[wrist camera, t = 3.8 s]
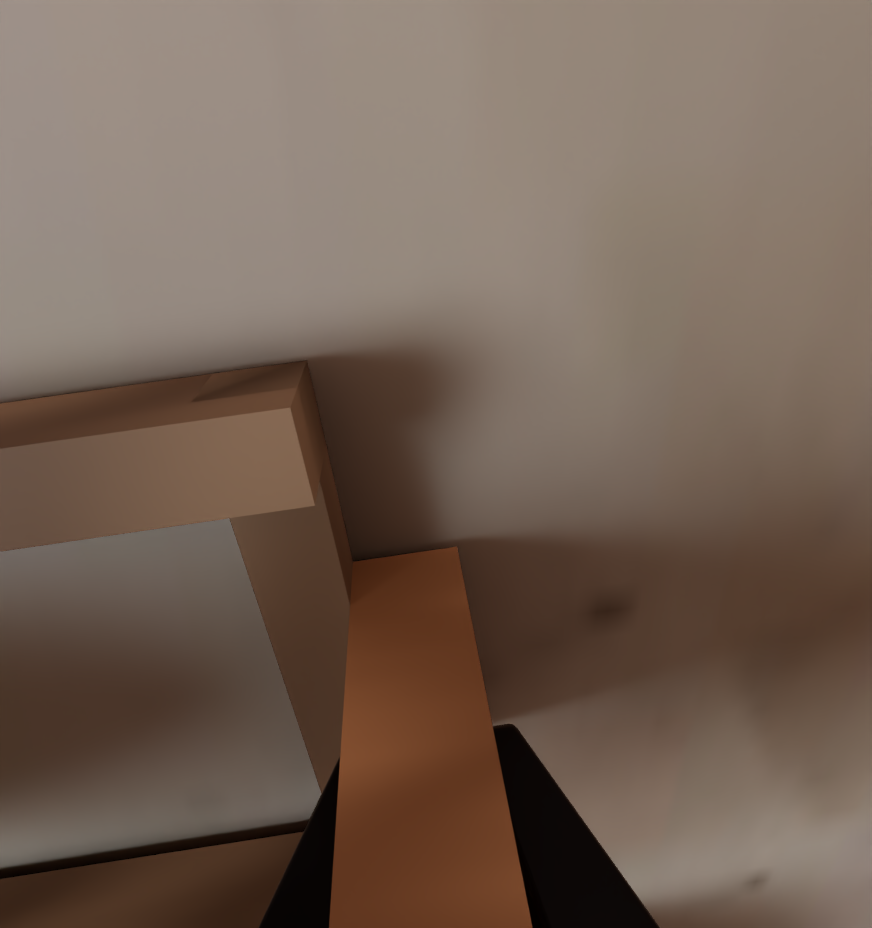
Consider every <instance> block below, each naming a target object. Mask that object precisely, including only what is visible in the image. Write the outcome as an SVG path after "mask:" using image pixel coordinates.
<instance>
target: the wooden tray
mask: <svg viewBox="0 0 872 928" xmlns="http://www.w3.org/2000/svg"><path fill="white" fill-rule="evenodd" d="M227 518H229V519H230V522H231V525H232V528H233V531H234V534H235V537H236V539H237V542H238V545H239V548H240V551H241V554H242V557H243V560H244V563H245V566H246V569H247V572H248V575H249V578H250V581H251V584H252V587H253V590H254V593H255V596H256V599H257V602H258V605H259V608H260V611H261V614H262V617H263V620H264V623H265V626H266V629H267V632H268V635H269V638H270V641H271V644H272V647H273V650H274V653H275V656H276V659H277V662H278V665H279V668H280V671H281V674H282V677H283V680H284V683H285V686H286V689H287V692H288V695H289V698H290V701H291V703H292V706H293V709H294V712H295V715H296V718H297V721H298V724H299V727H300V730H301V733H302V736H303V739H304V742H305V745H306V748H307V751H308V754H309V757H310V760H311V763H312V766H313V769H314V772H315V775H316V778H317V781H318V784H319V787H320V790H321V793H322V792H323V790H324V788H325V786H326V784H327V782H328V780H329V777H330V775H331V773H332V771H333V769H334V767H335V765H336V763H337V761H338V758H339V757H340V768H339V783H338V799H337V814H336V829H335V844H334V860H333V875H332V890H331V905H330V921H329V928H532V923H531V918H530V913H529V908H528V903H527V898H526V892H525V887H524V882H523V877H522V872H521V867H520V862H519V857H518V852H517V847H516V842H515V837H514V832H513V827H512V822H511V817H510V812H509V807H508V802H507V797H506V792H505V786H504V781H503V776H502V771H501V766H500V761H499V756H498V751H497V746H496V741H495V736H494V731H493V726H492V721H491V716H490V711H489V706H488V701H487V696H486V691H485V685H484V680H483V675H482V670H481V665H480V660H479V655H478V650H477V645H476V640H475V635H474V630H473V625H472V620H471V615H470V610H469V605H468V600H467V595H466V590H465V585H464V579H463V574H462V569H461V564H460V559H459V554H458V549H457V547H450V548H444V549H437V550H430V551H423V552H417V553H410V554H403V555H396V556H389V557H383V558H376V559H369V560H362V561H356V562H353V560H352V555H351V551H350V547H349V542H348V538H347V533H346V529H345V525H344V520H343V516H342V512H341V507H340V503H339V498H338V494H337V490H336V485H335V481H334V477H333V472H332V468H331V463H330V459H329V455H328V450H327V446H326V442H325V437H324V433H323V428H322V424H321V420H320V415H319V411H318V406H317V402H316V398H315V393H314V389H313V385H312V380H311V376H310V371H309V367H308V363H307V360H306V361H299V362H292V363H285V364H278V365H271V366H263V367H256V368H249V369H242V370H235V371H228V372H221V373H214V374H207V375H199V376H192V377H185V378H178V379H171V380H164V381H157V382H150V383H143V384H136V385H128V386H121V387H114V388H107V389H100V390H93V391H86V392H79V393H72V394H64V395H57V396H50V397H43V398H36V399H29V400H22V401H15V402H8V403H1V404H0V551H7V550H14V549H21V548H28V547H35V546H41V545H48V544H55V543H62V542H69V541H76V540H83V539H90V538H96V537H103V536H110V535H117V534H124V533H131V532H138V531H144V530H151V529H158V528H165V527H172V526H179V525H186V524H193V523H199V522H206V521H213V520H220V519H227ZM302 834H303V832H299V833H292V834H286V835H279V836H273V837H267V838H260V839H254V840H247V841H241V842H235V843H228V844H222V845H215V846H209V847H203V848H196V849H190V850H183V851H177V852H171V853H164V854H158V855H151V856H145V857H139V858H132V859H126V860H119V861H113V862H107V863H100V864H94V865H88V866H81V867H75V868H68V869H62V870H56V871H49V872H43V873H36V874H30V875H24V876H17V877H11V878H4V879H0V928H258V927H259V925H260V923H261V921H262V918H263V916H264V914H265V912H266V910H267V908H268V906H269V904H270V902H271V899H272V897H273V895H274V893H275V891H276V889H277V887H278V885H279V883H280V881H281V878H282V876H283V874H284V872H285V870H286V868H287V866H288V864H289V862H290V859H291V857H292V855H293V853H294V851H295V849H296V847H297V845H298V843H299V841H300V838H301V836H302Z"/></svg>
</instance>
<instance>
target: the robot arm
mask: <svg viewBox="0 0 872 928" xmlns="http://www.w3.org/2000/svg"><path fill="white" fill-rule="evenodd" d="M493 731H494V736H495V741H496V746H497V751H498V756H499V761H500V766H501V771H502V776H503V781H504V786H505V792H506V797H507V802H508V807H509V812H510V817H511V822H512V827H513V832H514V837H515V842H516V847H517V852H518V857H519V862H520V867H521V872H522V877H523V882H524V887H525V892H526V898H527V903H528V908H529V913H530V918H531V923H532V928H660V927H659V926H658V924H657V923H656V922H655V920H654V919H653V917H652V916H651V915H650V913H649V912H648V910H647V909H646V908H645V906H644V905H643V903H642V902H641V901H640V899H639V898H638V896H637V895H636V894H635V892H634V891H633V889H632V888H631V887H630V885H629V884H628V882H627V881H626V880H625V878H624V877H623V875H622V874H621V873H620V871H619V870H618V868H617V867H616V866H615V864H614V863H613V861H612V860H611V859H610V857H609V856H608V854H607V853H606V852H605V850H604V849H603V847H602V846H601V845H600V843H599V842H598V840H597V839H596V838H595V836H594V835H593V833H592V832H591V831H590V829H589V828H588V826H587V825H586V824H585V822H584V821H583V819H582V818H581V817H580V815H579V814H578V812H577V811H576V810H575V808H574V807H573V805H572V804H571V803H570V801H569V800H568V798H567V797H566V796H565V794H564V793H563V791H562V790H561V789H560V787H559V786H558V784H557V783H556V782H555V780H554V779H553V777H552V776H551V775H550V773H549V772H548V771H547V769H546V768H545V766H544V765H543V764H542V762H541V761H540V759H539V758H538V757H537V755H536V754H535V752H534V751H533V750H532V748H531V747H530V745H529V744H528V743H527V741H526V740H525V738H524V737H523V736H522V734H521V733H520V731H519V730H518V729H517V728H516V727H515V726H514V725H513V724H504V725H498V726H493ZM339 768H340V757H339V758H338V761H337V763H336V765H335V767H334V769H333V771H332V773H331V775H330V777H329V780H328V782H327V784H326V786H325V788H324V790H323V792H322V794H321V796H320V798H319V801H318V803H317V805H316V807H315V809H314V811H313V813H312V815H311V817H310V820H309V822H308V824H307V826H306V828H305V830H304V832H303V834H302V836H301V838H300V841H299V843H298V845H297V847H296V849H295V851H294V853H293V855H292V857H291V859H290V862H289V864H288V866H287V868H286V870H285V872H284V874H283V876H282V878H281V881H280V883H279V885H278V887H277V889H276V891H275V893H274V895H273V897H272V899H271V902H270V904H269V906H268V908H267V910H266V912H265V914H264V916H263V918H262V921H261V923H260V925H259V927H258V928H329V921H330V905H331V890H332V875H333V860H334V844H335V829H336V814H337V799H338V783H339Z"/></svg>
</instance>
